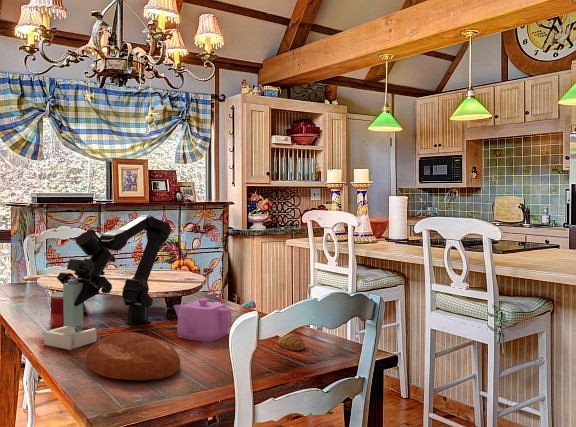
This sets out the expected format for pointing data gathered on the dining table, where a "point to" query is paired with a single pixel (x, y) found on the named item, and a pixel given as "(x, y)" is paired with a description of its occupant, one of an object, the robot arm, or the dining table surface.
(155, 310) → the dining table surface
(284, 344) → the pastry
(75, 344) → the cradle
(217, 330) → the teakettle
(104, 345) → the bread
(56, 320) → the canned food
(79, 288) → the post
